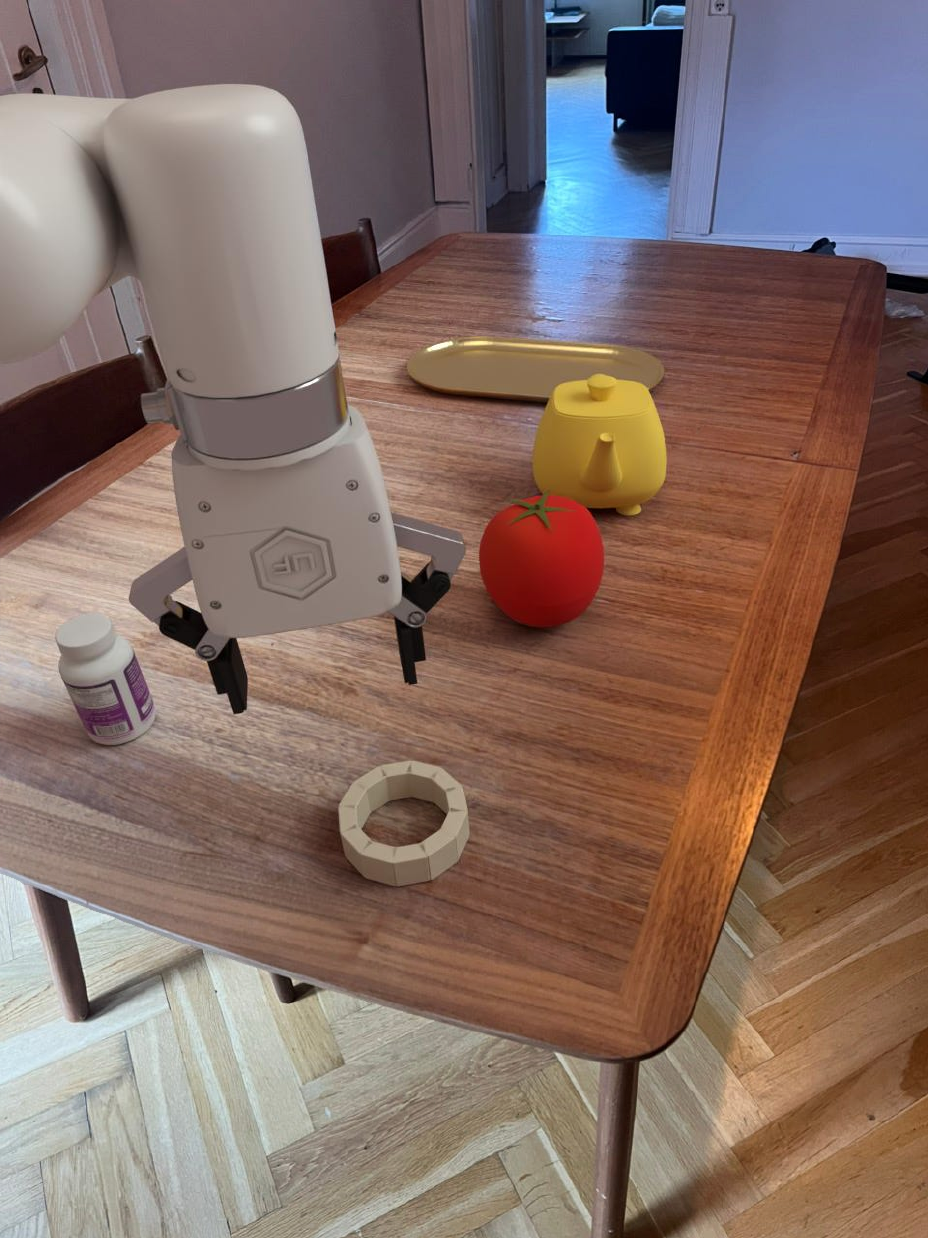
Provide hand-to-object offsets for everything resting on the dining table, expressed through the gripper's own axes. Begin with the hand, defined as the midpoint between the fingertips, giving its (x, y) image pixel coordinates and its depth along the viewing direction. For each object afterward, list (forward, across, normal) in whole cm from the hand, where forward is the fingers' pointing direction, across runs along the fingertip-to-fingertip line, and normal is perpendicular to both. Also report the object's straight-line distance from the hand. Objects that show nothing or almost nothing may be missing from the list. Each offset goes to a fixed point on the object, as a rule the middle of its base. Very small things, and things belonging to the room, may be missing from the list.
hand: (325, 683), depth 51 cm
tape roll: (+14, +3, 0) cm, 15 cm away
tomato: (+15, +18, +22) cm, 32 cm away
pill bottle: (+14, -18, +16) cm, 28 cm away
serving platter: (+15, +29, +73) cm, 80 cm away
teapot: (+15, +28, +39) cm, 50 cm away
